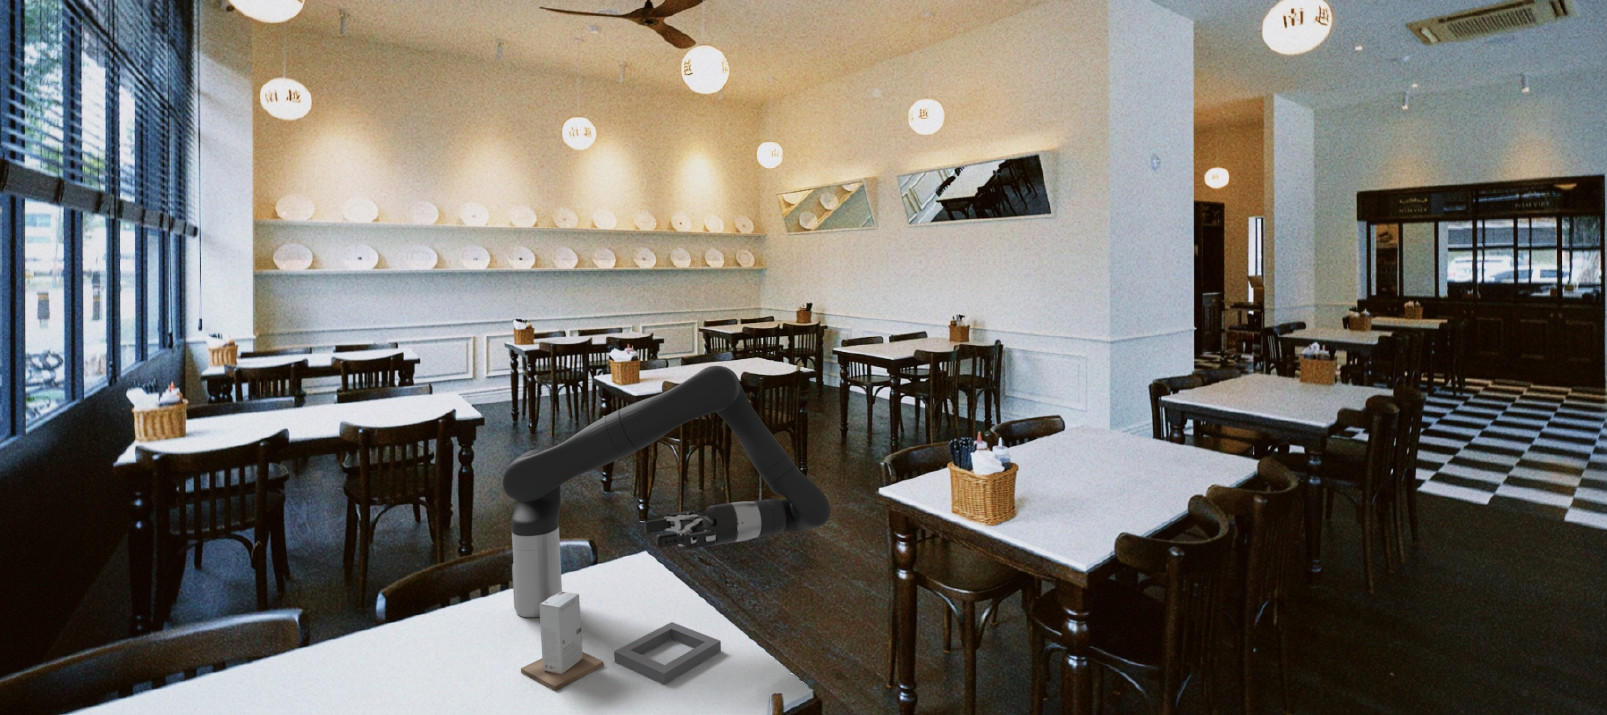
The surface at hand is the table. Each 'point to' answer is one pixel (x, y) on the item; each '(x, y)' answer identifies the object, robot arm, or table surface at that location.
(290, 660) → the table surface
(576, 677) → the coaster
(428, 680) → the table surface
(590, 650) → the table surface
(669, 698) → the table surface
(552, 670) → the skincare box
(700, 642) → the socket block
